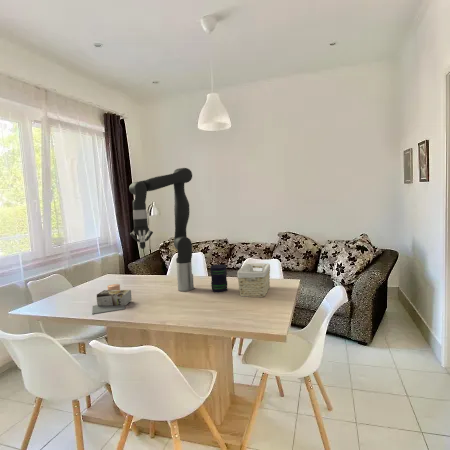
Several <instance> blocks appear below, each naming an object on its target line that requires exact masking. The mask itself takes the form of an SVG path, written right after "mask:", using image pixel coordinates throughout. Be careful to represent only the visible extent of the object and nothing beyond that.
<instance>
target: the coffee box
mask: <svg viewBox="0 0 450 450" xmlns="http://www.w3.org/2000/svg"><path fill="white" fill-rule="evenodd" d="M132 300H133V298H132V290H131V289H120V290H108V289H105V290H102V291H101V292H99V293H97V294H96V302H97V304H96V305H98V306H119V305H124V306H127V305H128V304H129V303H130V302H131V301H132Z"/></svg>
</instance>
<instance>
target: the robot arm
mask: <svg viewBox="0 0 450 450" xmlns="http://www.w3.org/2000/svg"><path fill="white" fill-rule="evenodd" d="M192 179H193V172H192V170H191V169H189V168H187V167H180V168H176V169H175V170H174V171H173V173H170V174H163V175H157V176H154V177H151V178H148V179H147V178H146V179H144V180H139V181H135V182H132V183H131V184H130V185H129V188H128V190H129V192H130V194H132V195H134V199H133V200H132V217H133V230H132V232H130V233H129V235H130V236H131V237H132V238H133V239H134V240H135V241H136V242H138V243H139V248H140V249H141V250H145V248H146V242H147V241H149V240H150V238H151V236H152V235H153V233H154V232H153V231H152V230H150V228H149V224H148V223H149V222H148V212H147V204H146V200H147V193H148V192H153V191H157V190H160V189H162V188H166V187H169V186H172V185H173V191H174V194H173V196H174V238H173V245H174V248H175V249H176V250H177V257H176V262H175V263H176V277H177V290H178V291H179V292H189V291H191V290H194V289H195V286H194V273H193V269H192V267H193V266H192V258H193V245H192V241H191V239H190V238H189V237H187V226H188V222H189V219H190V201H189V200H188V198H187V195H186V190H185V184H187V183H190V181H192ZM135 234H136V235H135ZM147 234H148V235H147ZM146 235H147V236H146ZM136 236H138V237H136Z"/></svg>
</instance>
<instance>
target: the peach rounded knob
mask: <svg viewBox="0 0 450 450" xmlns="http://www.w3.org/2000/svg"><path fill="white" fill-rule="evenodd" d="M106 288H107V290H121V284H118V283H113V284H109V285H107V287H106Z"/></svg>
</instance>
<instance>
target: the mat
mask: <svg viewBox="0 0 450 450" xmlns="http://www.w3.org/2000/svg"><path fill="white" fill-rule="evenodd" d="M125 306H126V305H119V306H98V305H97V304H96V305H92V309H91V311H92V312H91V313H92V314H91V315H95V314H96V315H97V314H102V313H109V312H110V313H111V312H115V311H123V310H126V307H125Z"/></svg>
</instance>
